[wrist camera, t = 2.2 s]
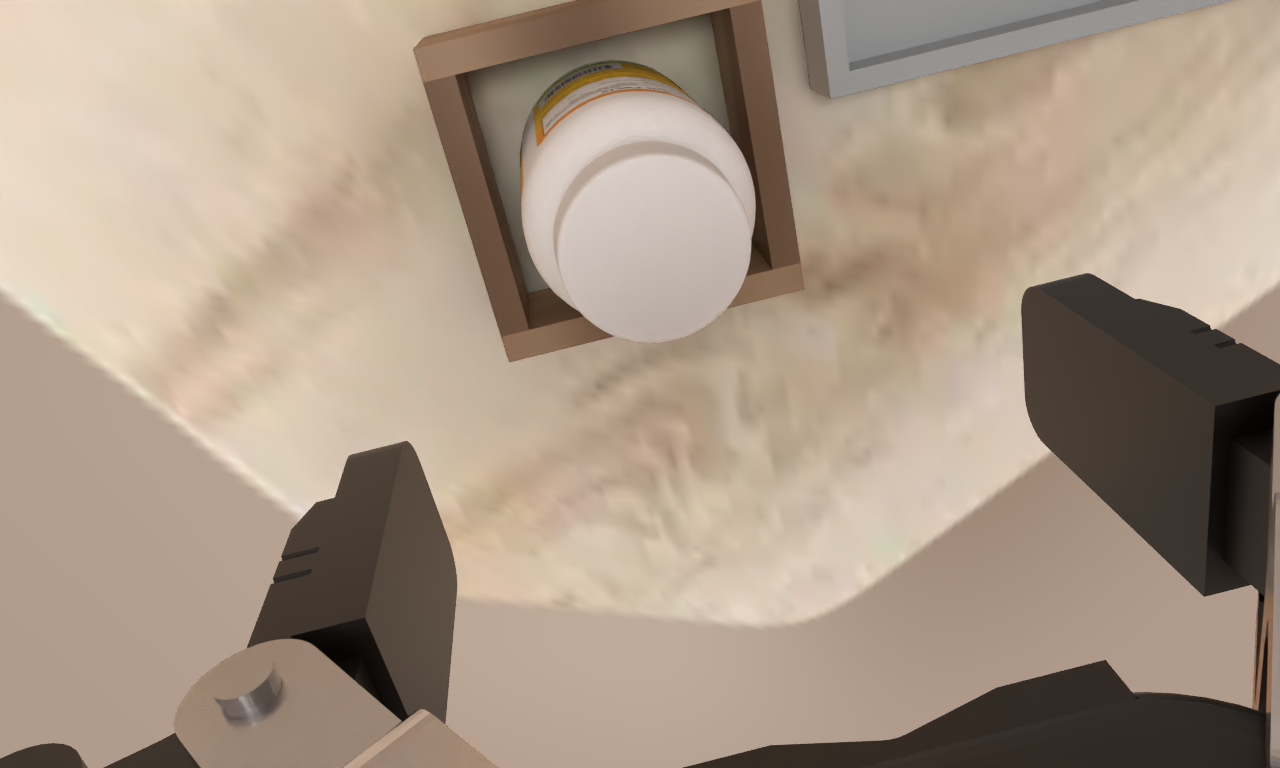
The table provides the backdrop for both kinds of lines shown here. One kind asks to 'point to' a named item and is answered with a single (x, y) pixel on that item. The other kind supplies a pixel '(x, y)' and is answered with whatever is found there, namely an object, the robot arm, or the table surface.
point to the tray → (949, 34)
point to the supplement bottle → (635, 202)
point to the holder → (599, 12)
